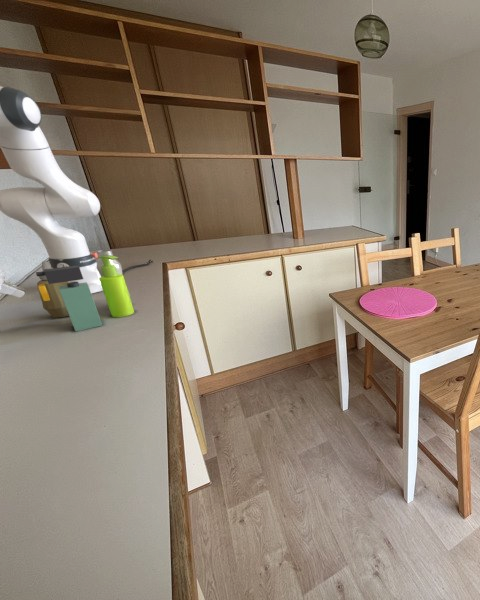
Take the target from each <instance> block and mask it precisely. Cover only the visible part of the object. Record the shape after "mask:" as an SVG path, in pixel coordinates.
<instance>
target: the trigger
mask: <svg viewBox="0 0 480 600" xmlns="http://www.w3.org/2000/svg"><path fill="white" fill-rule="evenodd" d="M38 288H39V289H38ZM37 289H38V292H39V291H40V293H41V295H42V298H43V300H44V301H49V300H50V296H49V294H48V292H47V289H46V287H45V284H40V285H37ZM40 293H39V294H40Z"/></svg>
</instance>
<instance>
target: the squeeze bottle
mask: <svg viewBox="0 0 480 600" xmlns="http://www.w3.org/2000/svg"><path fill="white" fill-rule="evenodd" d="M41 269H42V271H44V269H52V267H51V265H50V263H49V261H47V260H45V261H41ZM42 271H41V272H42ZM38 279H39V280H38V281H37V283H36V284H37V286H38V285H40V284H45V287H46V289H47V292H48V294H49V296H50V300H49V301H44V300H43V298H42V295H41V293H40V291H39V288H38V287H37V289H38V293H39V296H40V300H41V304H42V308H43V309H44V310H45V311H46V312H47V313H49V315H50V316H51V318H65V317H70V316H69V314H68V311H67V309H66V306H65V303H64V301H63V298H62V296H61V293H60V291H59V286H65V285H67V283H68V281H67V282H60V283H53V284H49V283H48V281H47V278H46V276H38Z"/></svg>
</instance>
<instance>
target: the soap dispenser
mask: <svg viewBox="0 0 480 600" xmlns="http://www.w3.org/2000/svg"><path fill="white" fill-rule="evenodd" d="M100 258H102V261H103V264H104V265H103V266H102V267H101V269H102V272H103V275H104V276H103V277H100V278H99V280H100V283H101V286H102V289H103V291H102V292H103V295H104V297H105V300H106V304H107V307H108V309H109V312H110V315H111V317H112V318H123V317H128V316H131V315H133V314H135V309H134V306H133V301H132V302H131V299H130V296H129V293H130V292H129V289H128V286H127V283H126V280H125V276H124V274H123V275H122V274H117V271H116V267H115V265H112V264H111V263H110V260H113V259H116V260H118V259H119V257H118V256H116V255H113V256H112V255H104V256H99V257H98V256H97V259H100ZM109 259H110V260H109ZM128 292H129V293H128Z"/></svg>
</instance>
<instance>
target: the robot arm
mask: <svg viewBox="0 0 480 600" xmlns="http://www.w3.org/2000/svg"><path fill="white" fill-rule="evenodd" d="M42 117H43V116H42V112H41V109H40V106H39V105H38V103H37V102H36V100H35V99H34V98H33V97H31V96H30V95H29V94H28V93H27V92H25V91H22V90H20V89H16V88H13V87H10V86H1V85H0V150H1V151H2V154H3V155H4V156H3V157H4V158H5V160H6V162H7V163H8V166H9V168H10V169H11V170H12V171H13V172H15V174H18V175H19V176H20V177H23V178H27V179H29V180H32V181H35V182H37V183H39V184H40V185H42V186H43V187H39V186H38V187H35V186H34V187H31V186H30V187H29V186H25V187H23V186H21V187H11V188H5V189H0V212H1V213H2V214H4V215H5V216H7V217H8V218H10V219H13V220H15V221H17V222H20V223H22V224H23V225H25V226H27V227H28V228H29V229H31V230H32V231H33V232H34V233H35V234H36V235H37V236H38V238H39V239H40V240H41V242H42V244H43V246H44V248H45V250H46V253H47V255H48V263H49V264H50V266H51V267H52V268H60V267H68V266H77V265H79V268H80V271H81V273H82V276H83V279H81V280H74V281H68V283H70V282H78V283H85V282H87V284H88V286H89V289H90V292H91V294H96V293H98V292H103V289H102V286H101V283H100V280H99V278H100V277H101V276H100V274H99V272H98V270H97V263H98V262H97V260H96V259H98V253H97V252H90V250H89V249H90V248H89V246H88V243H87V239H86V237H85V236H84V235H83V233H82V232H80V231H77V230H75V229H72V228H68V227H65V226H63V225H61V224H60V223H59V222H58V221H57V220H71V219H72V220H74V219H85V218H90V217H96V216H97V215H98V214H99V212H100V211H101V203H100V200H99V198H98V197H97V195H95V194H94V192H93V191H91V190H89V189H87V188H85V187H82V186H81V185H79V184H77V183H76V182H74V181H73V180H71V178H69V177H68V176H67V175H66V174H65V172H64V171H63V170H62V169H61V167H60V165H59V163H58V162H57V160H56V158H55V156H54V154H53V151H52V149H51V147H50V145H49V141H48V140H47V138H46V136H45V134H44V133H43V131H42V129H41V127H40V125H41V123H42V119H43V118H42ZM151 260H152V259H149V260H148V262H150V261H151ZM148 262H146V263H147V264H145V263H141V264H135V265H131V266H128V267H126V268H125V269H122V273H125V272H127V271H129V270H131V269H135V268H140V267H146V266H148V265H150V264H151V263H153V262H154V261H153V260H152V261H151V262H150V263H148ZM6 275H7V272H6V271H4V270H3V269H1V268H0V294H4V295H9V296H13V297H16V298H18V299H19V298H20V299H21V298H23V297H24V296H25V294H26V289H24V288H22V287H19V286H17V285H15V284H13V283H11V282H10V281H7V280H5V279H6Z"/></svg>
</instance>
